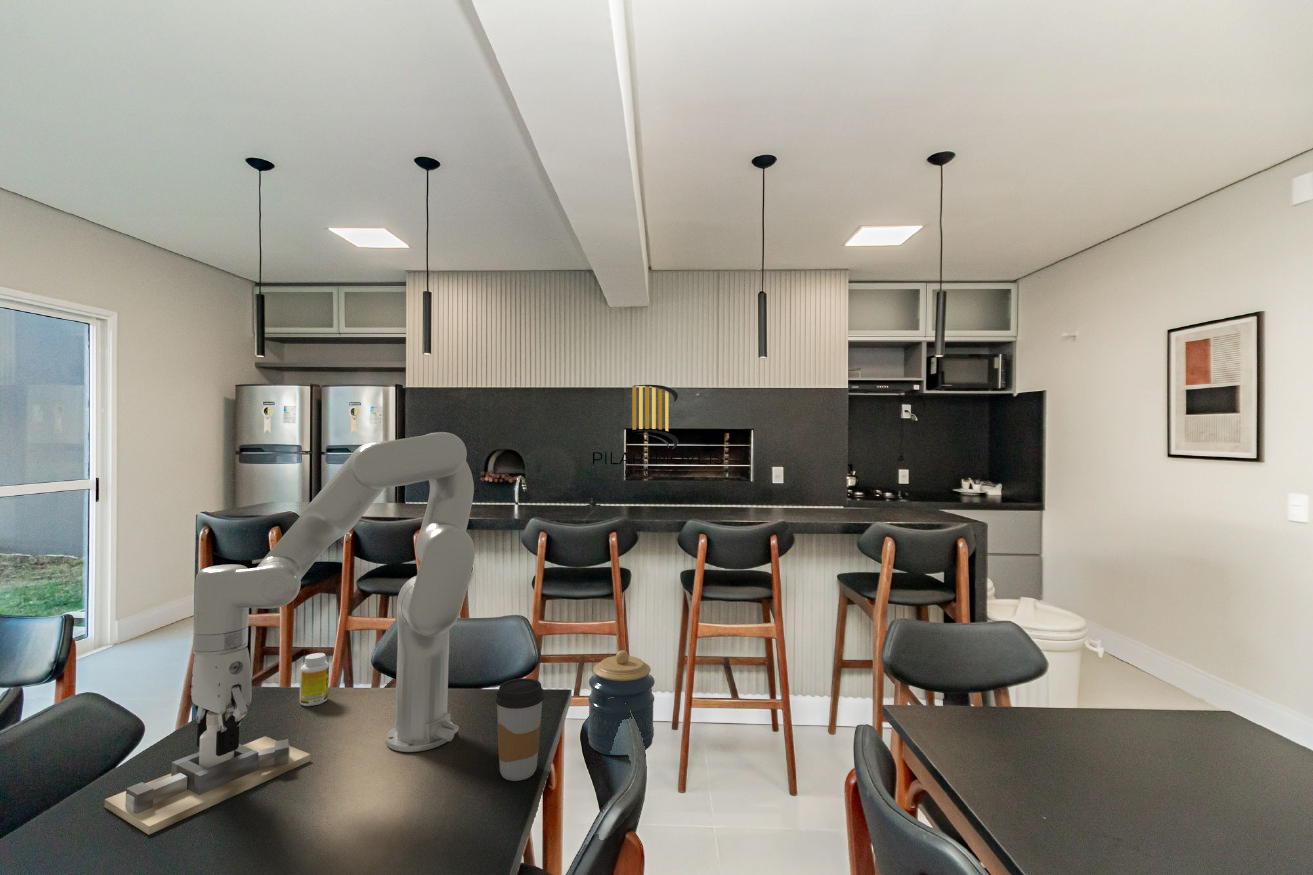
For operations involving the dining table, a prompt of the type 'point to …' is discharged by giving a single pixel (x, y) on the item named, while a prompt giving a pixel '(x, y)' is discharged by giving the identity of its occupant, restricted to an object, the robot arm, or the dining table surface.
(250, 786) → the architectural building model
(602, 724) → the canister
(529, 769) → the coffee cup
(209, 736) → the pepper shaker
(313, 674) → the supplement bottle
